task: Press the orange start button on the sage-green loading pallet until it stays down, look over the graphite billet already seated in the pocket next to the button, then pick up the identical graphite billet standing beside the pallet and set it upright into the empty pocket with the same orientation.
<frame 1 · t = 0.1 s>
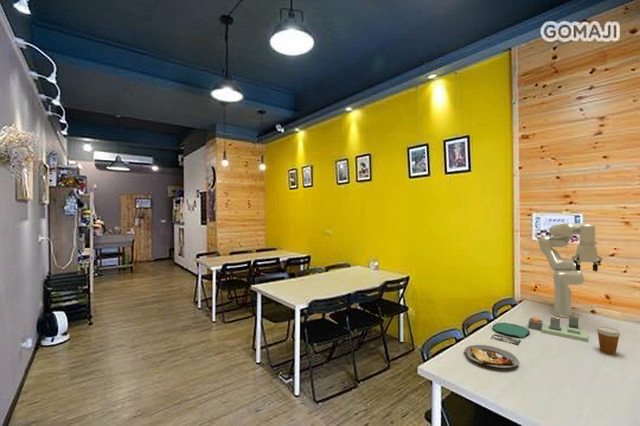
hand: (586, 270, 203), 37 cm above the table, tool pointing down, fingers open, 9 cm apart
start button: (535, 320, 204), point 5 cm above the table, slide at 0.0 cm
seated billet: (555, 331, 198), resting on loading pallet
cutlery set: (508, 334, 196), on the table
graphite billet: (573, 329, 202), on the table
disposable coffee cup: (607, 352, 172), on the table
food plate: (490, 359, 164), on the table
loading pallet: (564, 334, 195), on the table
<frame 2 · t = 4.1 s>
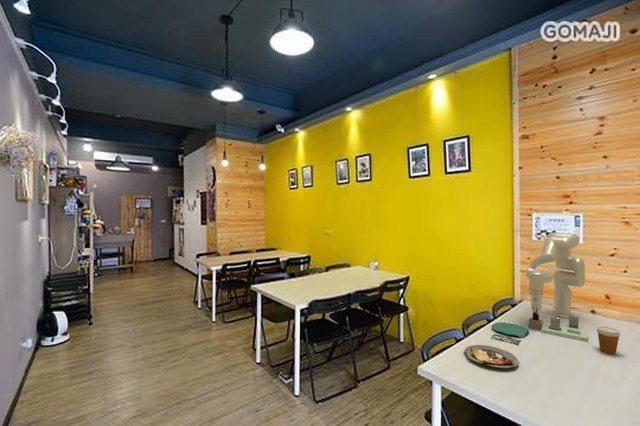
hand: (535, 319, 204), 6 cm above the table, tool pointing down, fingers closed
start button: (535, 322, 204), point 4 cm above the table, slide at 1.0 cm, touching gripper
everything else where it was.
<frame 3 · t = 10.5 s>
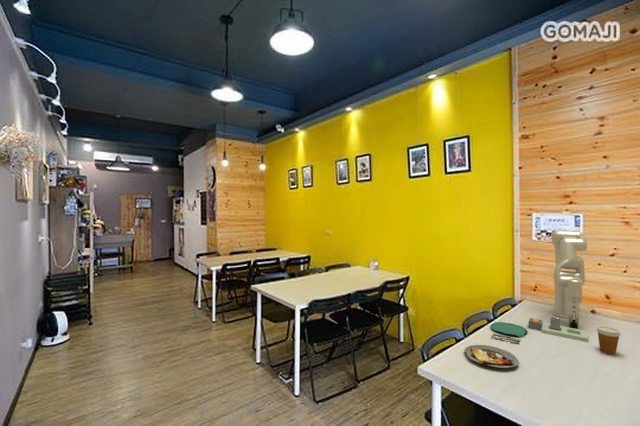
hand: (573, 327, 202), 1 cm above the table, tool pointing down, fingers closed on graphite billet, 4 cm apart
start button: (535, 322, 204), point 4 cm above the table, slide at 1.1 cm
graphite billet: (573, 329, 202), on the table, touching gripper
when the fingers open (4 cm above the table, at t = 15.9 s): graphite billet drops 2 cm, resting on loading pallet.
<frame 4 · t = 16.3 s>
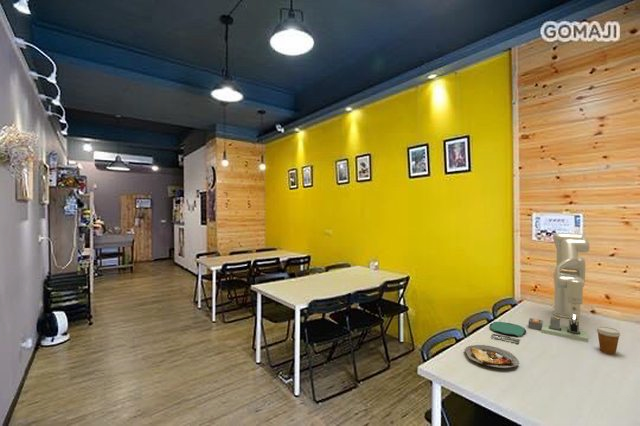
hand: (573, 328, 192), 4 cm above the table, tool pointing down, fingers open, 8 cm apart
graphite billet: (573, 335, 192), resting on loading pallet
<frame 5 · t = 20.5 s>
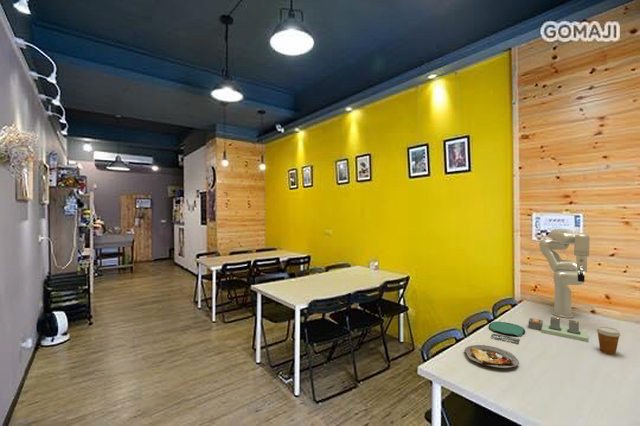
hand: (580, 280, 205), 30 cm above the table, tool pointing down, fingers open, 9 cm apart
at the end: start button slide at 1.1 cm; graphite billet 0.2 cm from the target spot on the loading pallet, point 0.5 cm above the loading pallet's base; graphite billet tilted 0° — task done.
